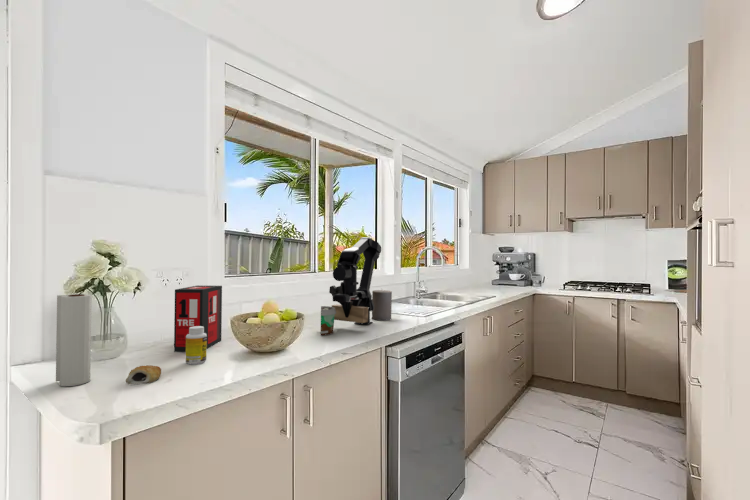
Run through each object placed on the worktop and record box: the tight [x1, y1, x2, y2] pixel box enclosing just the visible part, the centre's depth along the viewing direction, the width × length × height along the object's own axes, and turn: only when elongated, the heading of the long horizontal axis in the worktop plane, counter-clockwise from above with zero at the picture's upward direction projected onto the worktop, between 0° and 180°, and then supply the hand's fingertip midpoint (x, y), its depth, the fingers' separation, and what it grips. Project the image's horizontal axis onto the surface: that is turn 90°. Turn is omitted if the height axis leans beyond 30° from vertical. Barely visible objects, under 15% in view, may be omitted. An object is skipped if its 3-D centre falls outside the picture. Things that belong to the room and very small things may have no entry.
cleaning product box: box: [173, 285, 223, 353], centre depth 136 cm, size 16×9×20 cm, turn 0°
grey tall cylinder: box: [55, 293, 92, 387], centre depth 97 cm, size 7×6×21 cm
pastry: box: [125, 364, 162, 385], centre depth 101 cm, size 9×7×4 cm
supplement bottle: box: [185, 326, 208, 365], centre depth 116 cm, size 6×6×10 cm
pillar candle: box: [371, 289, 393, 321], centre depth 196 cm, size 10×10×15 cm
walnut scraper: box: [331, 304, 369, 323], centre depth 168 cm, size 4×16×6 cm, turn 59°
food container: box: [320, 305, 336, 336], centre depth 161 cm, size 12×6×10 cm, turn 7°
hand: (349, 316), depth 168 cm, fingers closed on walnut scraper, 4 cm apart
